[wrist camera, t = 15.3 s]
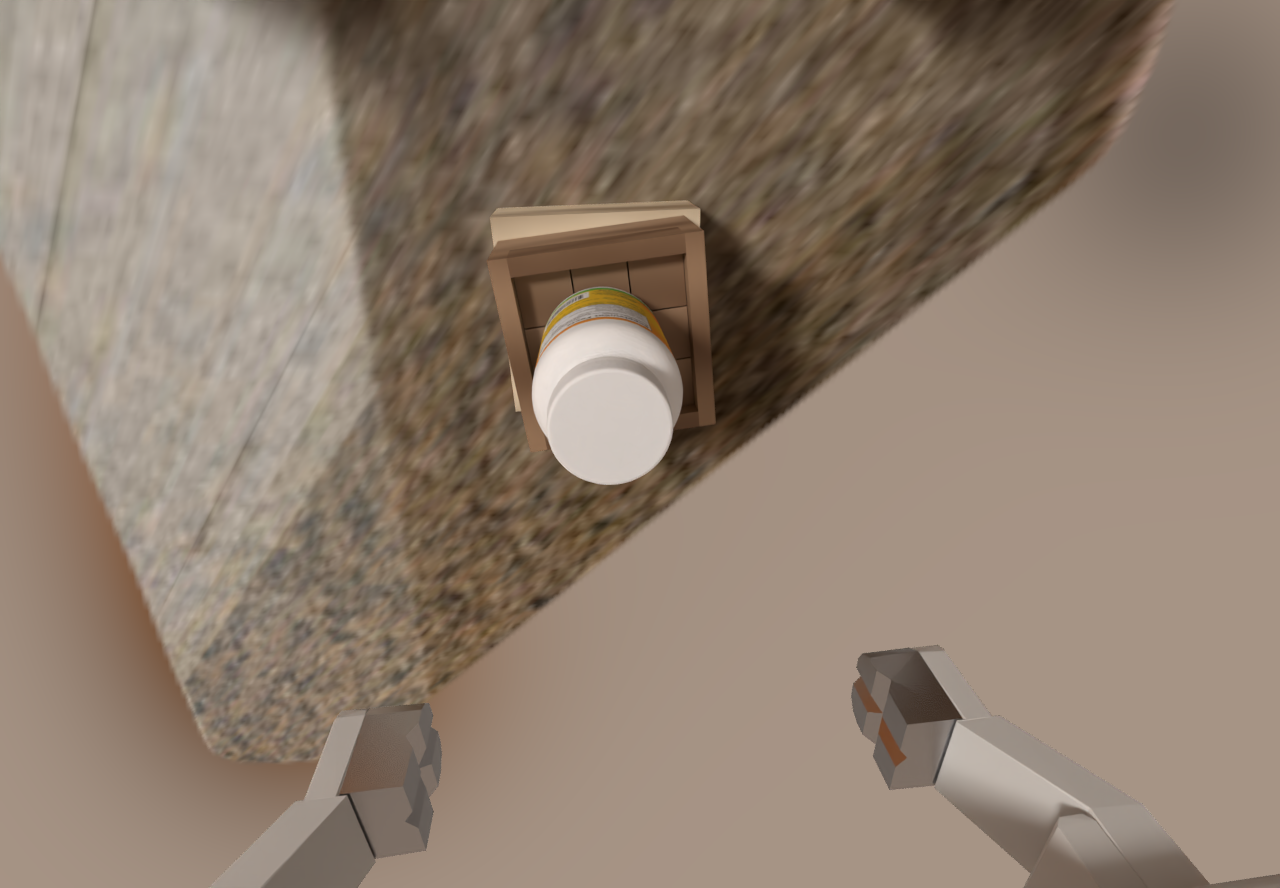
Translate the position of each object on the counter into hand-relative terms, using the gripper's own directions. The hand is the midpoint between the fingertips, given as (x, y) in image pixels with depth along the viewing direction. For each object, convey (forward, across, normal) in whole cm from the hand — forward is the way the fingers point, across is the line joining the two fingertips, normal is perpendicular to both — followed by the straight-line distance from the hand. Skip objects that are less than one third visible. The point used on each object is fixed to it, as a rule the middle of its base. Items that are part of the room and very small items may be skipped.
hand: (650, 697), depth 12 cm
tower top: (+23, 0, 0) cm, 23 cm away
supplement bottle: (+19, 0, 0) cm, 19 cm away
